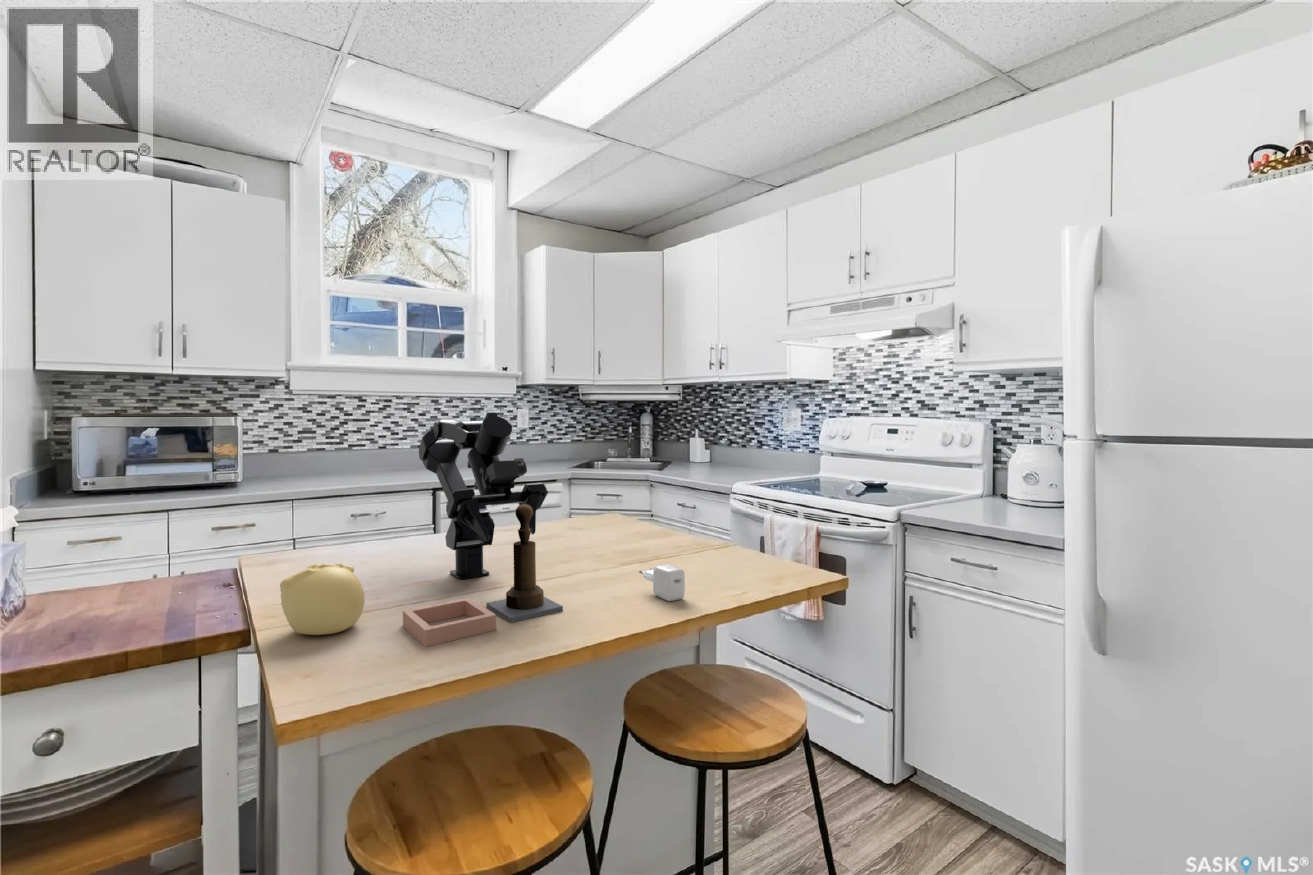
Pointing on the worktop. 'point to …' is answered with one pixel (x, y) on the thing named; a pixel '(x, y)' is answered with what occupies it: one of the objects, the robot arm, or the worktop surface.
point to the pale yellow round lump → (322, 599)
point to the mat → (523, 610)
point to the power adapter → (666, 581)
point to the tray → (431, 635)
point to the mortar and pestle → (524, 567)
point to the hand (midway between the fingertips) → (511, 536)
